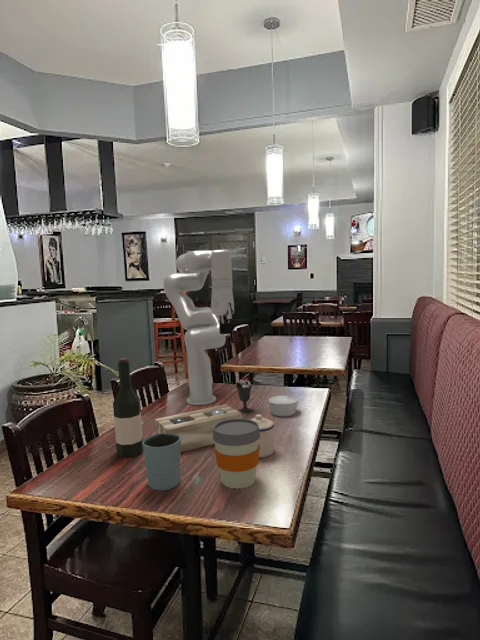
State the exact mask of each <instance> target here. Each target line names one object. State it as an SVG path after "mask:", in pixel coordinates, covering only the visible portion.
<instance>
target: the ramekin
mask: <svg viewBox="0 0 480 640" xmlns="http://www.w3.org/2000/svg"><path fill="white" fill-rule="evenodd" d="M267 403H268V405H269V409H270V410H269V411H270V413H271V414H272V415H274V416H276V417H290V416H293V415H295V413H296V411H297V408H298V403H299V400H298V398H296V397H294V396H291V395H276V396H272V397H269V399H267Z"/></svg>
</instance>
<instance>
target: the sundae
mask: <svg viewBox="0 0 480 640" xmlns="http://www.w3.org/2000/svg"><path fill="white" fill-rule="evenodd" d="M252 387H253V384H251V381H249V378H248V372H245V375H244V376H242V377H241V378H240V379H239V380H238V381H237V382H236V385H235V388H236V389H237V393H238V398H239V400H240V401H241V402H242V404H243V407H242V408H240V409H238V412H240V413H242V414H243V413H250V412H251V411H252V409H251V408H249V407H248V406H247V402H248V401H249V400H250V398H251V391H252V390H251V389H252Z"/></svg>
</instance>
